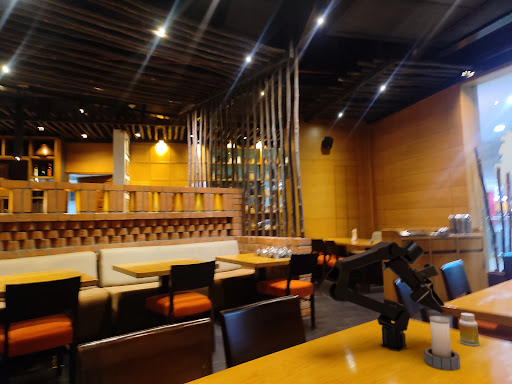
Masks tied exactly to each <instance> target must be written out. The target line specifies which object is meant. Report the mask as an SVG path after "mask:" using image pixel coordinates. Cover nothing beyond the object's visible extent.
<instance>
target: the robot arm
mask: <svg viewBox="0 0 512 384" xmlns="http://www.w3.org/2000/svg"><path fill="white" fill-rule="evenodd" d="M424 253H425V252H424V249H423V248H422V247H421V246H420V245H419V244H417V243H416V242H415V241H414V240H412V239H408V240H406V242H405V243H404V244H403V245H402V246H400V245H399V244H398V243H397V242H395V241H387V240H385V241H383V240H382V241H381V240H380V241H378V242H377V243H375V244H374V245H372V246H371V247H370V249H367V250H365V251H362V252H359V253H356V254H352V255H351V256H347V257H344V258H341V259H340V258H339V259H337V260H336V261H335V262H334V265H333V267H332V268H331V269H330V270H329V271H328V272H327V273H326V275H325V278H324V279H323V281H322V282H321V283H320V285H319V287H320V288H319V291H320V293H321V295H322V296H323V297H325V298H328V299H330V300H333V301H336V302H341V303H351V304H354V305H357V306H359V307H362V308H365V309H367V310H371V311H372V312H375V313H377V314H379V316H378V317H377V319H376V321H377V324H378V325H379V326H381V341H382V343H381V344H380V347H382V348H386V349H389V350H390V349H391V350H394V351H398V352H400V351H401V350H403V349H404V348H406V347H407V343H406V342H407V341H406V337H407V336H406V333H405V331H407V330H408V327H409V322H410V317H411V316H410V311H409V309H408V308H407V307H406V305H405V304H401V303H398V302H396V301H394V300H391V299H387V298H385V297H384V298H383V301H379V300H377V299H373V298H371V297H368V296H366V295H364V294H360V293H358V292H356V291H353V290H352V289H350V288H349V287H348V286H349V282H350V274H351V272H352V271H354V270H357V269H359V268H361V267H364V266H367V265H371V264H373V263H375V262H380V261H383V262H382V263H381V265H382V272H385V271H386V270H387V269H388V270H389V271H391V272H392V273H393V275H395V276H396V277H397V278H398V279H399V282H400V283H401V284H405V286H406V287H407V288H409V291H410V293H409V296H410V299H411V300H412V301H413V302H414V303H417V304H420V305H422V306H425V307H427V308H429V309H431V310H433V311H436V312H437V313H441V314H442V313H444V312H445V310H444V308H443V307H444V306H445V303H444V300H442V298H441V296H440V295H439V294H438V293H437V292H436V290H435V286H434V284H435V283H434V281H433V279H432V278H431V277H436V276H439V275H440V272H439V271H438V269H437V266H436V265H435V264H430V262H427V263H424V264H423V268H420V269H417V268H416V267H415V268H414V267H412V266H411V265H413V264H415V263H416V262H417V261H418V260H419V259H420V258H421V257H422V256H424ZM337 279H338V280H337ZM336 280H337V281H336Z"/></svg>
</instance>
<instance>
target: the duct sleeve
mask: <svg viewBox="0 0 512 384" xmlns="http://www.w3.org/2000/svg"><path fill="white" fill-rule="evenodd" d="M450 321H451V320H450V318H449V317H445V316H440V315H430V316H429V323H430V339H431V340H430V343H431V344H430V345H431V347H432V355H434V356H438V357H444V358H451V350H452V346H451V330H450V328H451V327H450Z"/></svg>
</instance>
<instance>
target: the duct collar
mask: <svg viewBox="0 0 512 384" xmlns="http://www.w3.org/2000/svg"><path fill="white" fill-rule="evenodd" d="M460 356H461V355H460V354H459V353H458V352H457V351H454V350H452V349H451V358H444V357H438V356H434V355H432V346H431V347H426V348H425V349H423V357H424V358H423V359H424V362H425V364H426V365H428V366H430V367H431V368H435V369H439V370H443V371H455V370H456V371H457V370H459V369H460V367H461V358H460Z"/></svg>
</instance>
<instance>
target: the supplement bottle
mask: <svg viewBox="0 0 512 384" xmlns="http://www.w3.org/2000/svg"><path fill="white" fill-rule="evenodd" d="M475 317H476V316H475V314H474V313H469V312H461V313H460V319H459V321H458V323H459V340H460V343H461V344H463V345H466V346H473V347H475V346H476V347H477V346H479V344H480V341H479V340H480V339H479V329H478V328H479V327H478V322H477V321H476V320H475Z"/></svg>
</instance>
